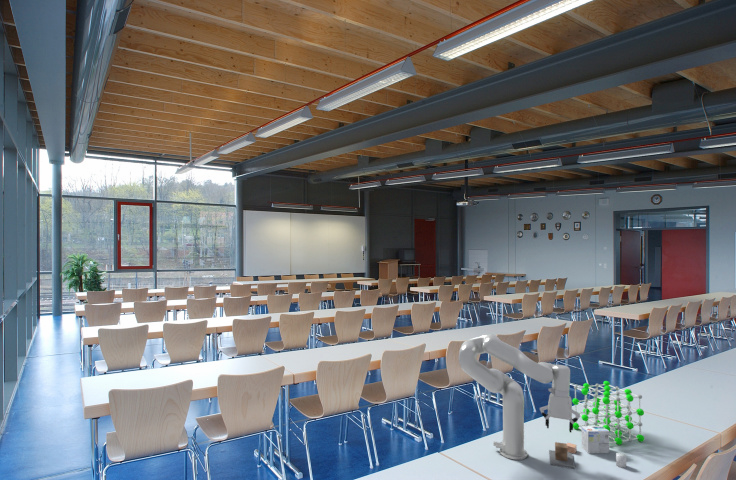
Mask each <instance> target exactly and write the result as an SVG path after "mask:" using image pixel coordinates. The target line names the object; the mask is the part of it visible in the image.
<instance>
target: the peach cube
mask: <svg viewBox="0 0 736 480" xmlns="http://www.w3.org/2000/svg"><path fill="white" fill-rule="evenodd" d="M566 444H567V453H572V454H576V453H577V450H578V449H577V446H578V445H577V444H575V443H571V442H567V443H566Z"/></svg>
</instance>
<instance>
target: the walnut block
mask: <svg viewBox="0 0 736 480" xmlns="http://www.w3.org/2000/svg"><path fill="white" fill-rule="evenodd" d="M554 451H555V459H556V460H561V461H567V453H568V452H567V443H564V442H557V441H555V442H554Z"/></svg>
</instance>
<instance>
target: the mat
mask: <svg viewBox="0 0 736 480" xmlns="http://www.w3.org/2000/svg"><path fill="white" fill-rule="evenodd" d="M548 455H549V456H548V457H549V465H550V466H554V467H555V466H556V467H561V468H567V469H571V470H572V469H573V470H574V469H575V463H574V457H573V453H570V452H567V461H561V460H556V459H555V450H553V449H552V450H551V449H549V450H548Z"/></svg>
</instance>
